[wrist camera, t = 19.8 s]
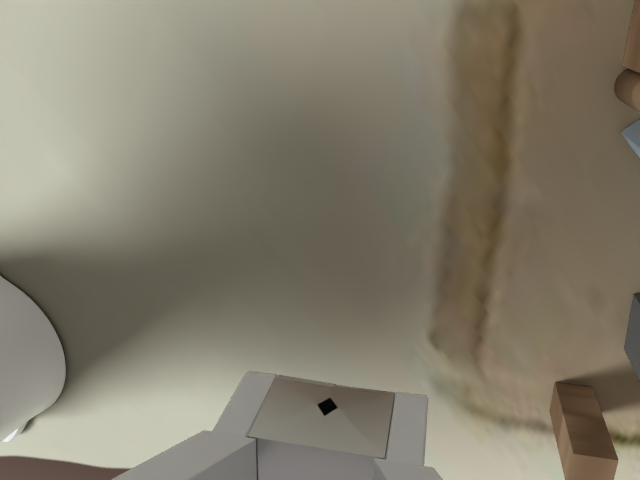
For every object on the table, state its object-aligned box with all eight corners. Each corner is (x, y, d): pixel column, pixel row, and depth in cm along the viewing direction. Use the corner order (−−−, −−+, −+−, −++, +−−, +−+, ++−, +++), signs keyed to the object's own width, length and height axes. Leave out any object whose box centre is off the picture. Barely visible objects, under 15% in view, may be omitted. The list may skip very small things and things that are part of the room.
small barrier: (549, 411, 41) (566, 486, 35) (654, -149, 29) (711, -191, 22) (586, 416, 41) (610, 492, 34) (709, -151, 28) (782, -194, 22)
